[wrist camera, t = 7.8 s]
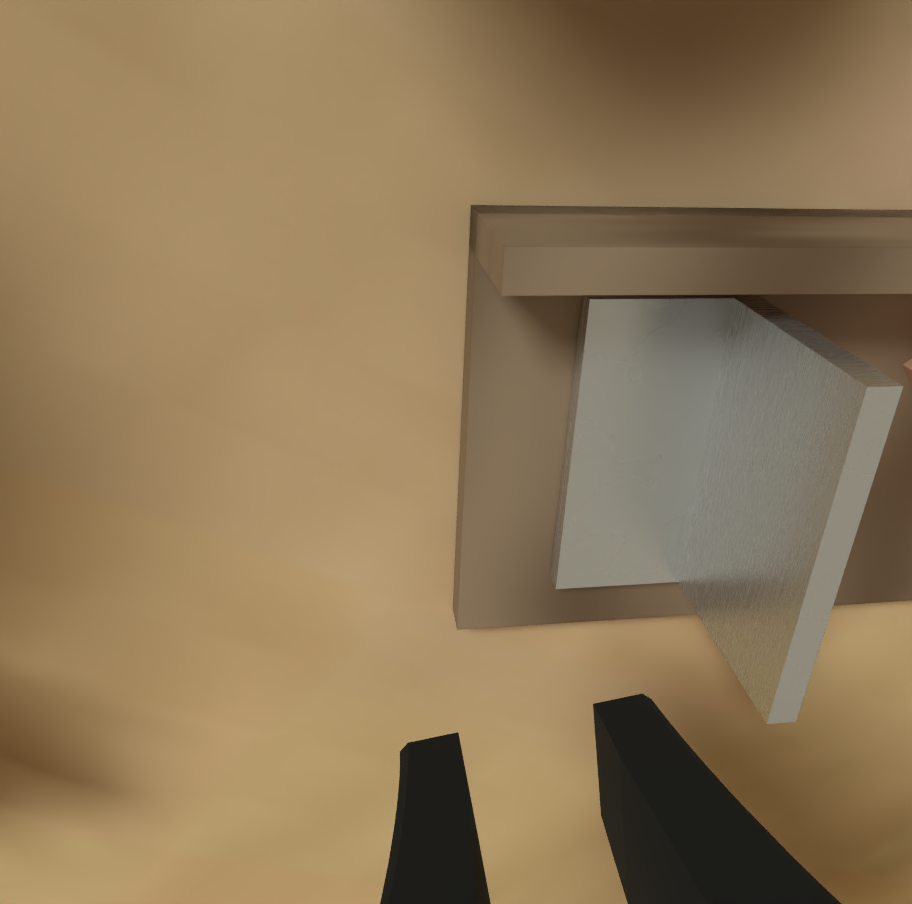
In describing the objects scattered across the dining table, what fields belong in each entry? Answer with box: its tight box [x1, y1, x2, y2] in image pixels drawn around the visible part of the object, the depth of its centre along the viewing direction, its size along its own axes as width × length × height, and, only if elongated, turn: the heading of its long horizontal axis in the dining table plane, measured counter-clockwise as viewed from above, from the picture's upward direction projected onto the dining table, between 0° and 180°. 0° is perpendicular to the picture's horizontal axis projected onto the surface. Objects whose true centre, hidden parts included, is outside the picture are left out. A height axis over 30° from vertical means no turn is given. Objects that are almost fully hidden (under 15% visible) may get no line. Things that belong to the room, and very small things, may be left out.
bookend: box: [551, 294, 903, 724], centre depth 16 cm, size 4×7×5 cm, turn 178°
